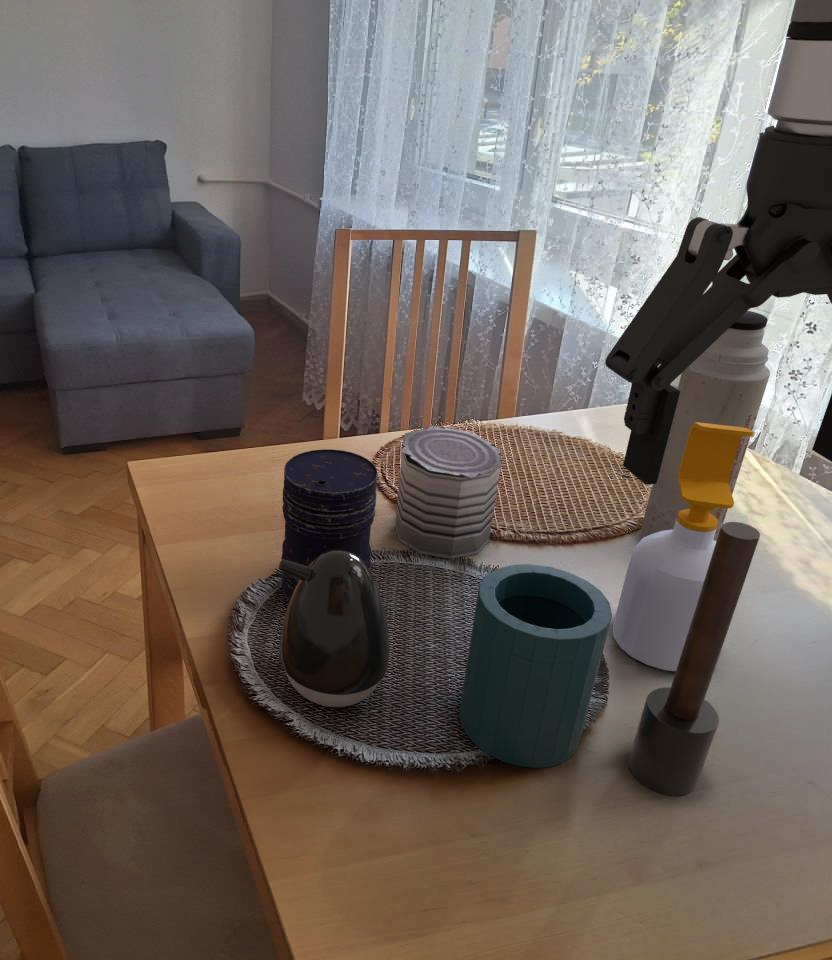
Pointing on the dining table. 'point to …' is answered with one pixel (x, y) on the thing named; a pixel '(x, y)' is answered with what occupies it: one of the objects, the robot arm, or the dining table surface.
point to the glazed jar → (532, 663)
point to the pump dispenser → (334, 630)
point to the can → (446, 492)
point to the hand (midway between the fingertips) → (736, 467)
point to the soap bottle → (677, 553)
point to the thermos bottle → (712, 411)
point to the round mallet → (693, 676)
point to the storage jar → (327, 507)
